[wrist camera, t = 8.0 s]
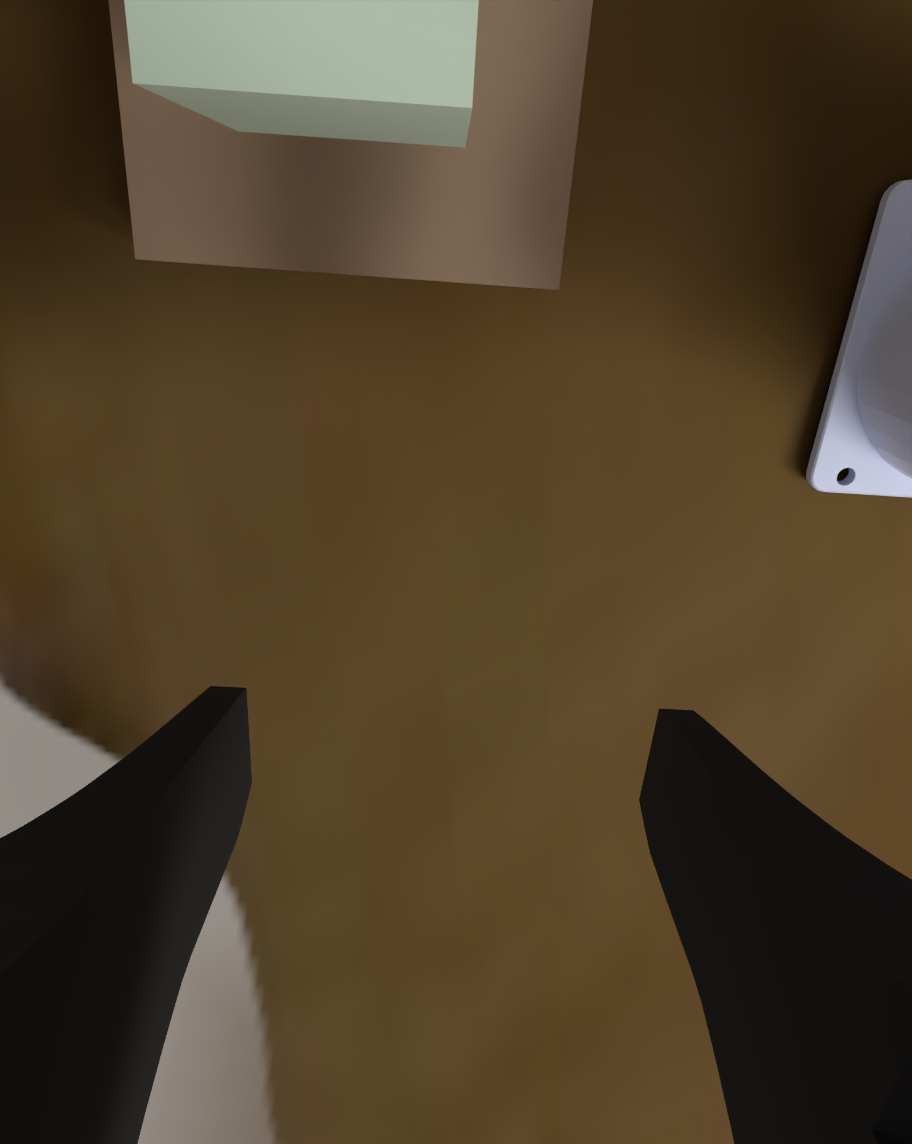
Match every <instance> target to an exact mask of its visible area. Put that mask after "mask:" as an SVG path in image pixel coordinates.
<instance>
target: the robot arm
mask: <svg viewBox="0 0 912 1144" xmlns="http://www.w3.org/2000/svg"><path fill="white" fill-rule="evenodd" d="M844 468H849V473H848V475H847V477H846V478H845V479H843V480H842V481H837V475H838V473H839V472H840V471H841V470H843V469H844ZM806 479H807V481H808V483H809V484H810V485H811V486H812V487H814V488H815V489H816V490H819V491H822V492H834V493H850V494H866V495H881V496H897V497H912V180H904V181H898V182H896V183H894V184H893V185H891V186H890V187H889V188H888V189H887V190H886V191H885V192H884V194H883V197H882V199H881V201H880V204H879V208H878V212H877V215H876V219H875V223H874V226H873V230H872V234H871V237H870V241H869V245H868V248H867V252H866V256H865V259H864V263H863V266H862V270H861V274H860V277H859V281H858V285H857V288H856V292H855V296H854V299H853V303H852V307H851V310H850V314H849V318H848V321H847V325H846V328H845V332H844V336H843V339H842V343H841V347H840V350H839V354H838V358H837V361H836V365H835V369H834V372H833V376H832V380H831V383H830V387H829V390H828V394H827V398H826V401H825V405H824V409H823V412H822V416H821V420H820V423H819V427H818V431H817V434H816V438H815V441H814V445H813V449H812V452H811V456H810V460H809V463H808V467H807V471H806ZM251 784H252V777H251V760H250V743H249V726H248V709H247V692H246V688H237V687H217V686H210V687H209V688H208V689H207V690H205V691H204V692H203V693H202V694H201V695H199V696H198V697H197V698H196V699H195V700H193V701H192V702H191V703H190V704H189V705H187V706H186V707H185V708H184V709H183V710H182V711H180V712H179V713H178V714H177V715H176V716H175V717H173V718H172V719H171V720H170V721H169V722H168V723H166V724H165V725H164V726H163V727H162V728H160V729H159V730H158V731H157V732H156V733H154V734H153V735H152V736H151V737H150V738H148V739H147V740H146V741H145V742H143V743H142V744H141V745H140V746H139V747H137V748H136V749H135V750H134V751H132V752H131V753H130V754H129V755H127V756H126V757H125V758H123V759H122V760H121V761H119V762H118V763H117V764H115V765H114V766H112V767H111V768H110V769H108V770H107V771H106V772H104V773H103V774H102V775H100V776H99V777H98V778H96V779H95V780H94V781H92V782H91V783H89V784H88V785H87V786H85V787H84V788H82V789H81V790H79V791H78V792H77V793H75V794H74V795H72V796H71V797H69V798H68V799H66V800H64V801H63V802H61V803H60V804H58V805H57V806H55V807H53V808H52V809H50V810H49V811H47V812H45V813H44V814H42V815H40V816H39V817H37V818H35V819H34V820H32V821H31V822H29V823H27V824H25V825H24V826H22V827H20V828H19V829H17V830H15V831H13V832H11V833H9V834H7V835H6V836H4V837H2V838H0V1144H137V1143H138V1139H139V1135H140V1131H141V1127H142V1123H143V1119H144V1115H145V1112H146V1108H147V1104H148V1100H149V1096H150V1093H151V1090H152V1086H153V1082H154V1078H155V1074H156V1071H157V1067H158V1064H159V1060H160V1056H161V1053H162V1049H163V1045H164V1042H165V1038H166V1035H167V1031H168V1027H169V1024H170V1021H171V1017H172V1013H173V1010H174V1007H175V1003H176V1000H177V996H178V993H179V990H180V986H181V982H182V980H183V977H184V974H185V971H186V968H187V966H188V963H189V960H190V957H191V954H192V952H193V949H194V947H195V944H196V942H197V939H198V936H199V934H200V932H201V929H202V927H203V924H204V921H205V919H206V916H207V914H208V911H209V909H210V906H211V904H212V901H213V899H214V896H215V894H216V891H217V889H218V886H219V884H220V881H221V879H222V876H223V874H224V871H225V869H226V866H227V863H228V861H229V858H230V856H231V853H232V851H233V848H234V845H235V843H236V840H237V838H238V835H239V831H240V827H241V823H242V820H243V816H244V812H245V808H246V804H247V800H248V796H249V792H250V788H251ZM639 801H640V806H641V811H642V817H643V822H644V827H645V832H646V836H647V840H648V845H649V849H650V854H651V857H652V860H653V863H654V866H655V868H656V871H657V874H658V877H659V880H660V883H661V886H662V889H663V891H664V894H665V897H666V900H667V903H668V906H669V908H670V911H671V914H672V917H673V920H674V922H675V925H676V928H677V931H678V934H679V936H680V939H681V942H682V945H683V948H684V950H685V953H686V956H687V959H688V962H689V964H690V967H691V970H692V973H693V976H694V979H695V983H696V986H697V989H698V992H699V995H700V999H701V1002H702V1006H703V1010H704V1014H705V1018H706V1022H707V1026H708V1030H709V1034H710V1038H711V1042H712V1047H713V1051H714V1055H715V1059H716V1063H717V1067H718V1072H719V1076H720V1081H721V1085H722V1089H723V1094H724V1098H725V1103H726V1107H727V1112H728V1116H729V1121H730V1125H731V1129H732V1134H733V1139H734V1144H912V880H911V879H910V878H908V877H906V876H905V875H903V874H902V873H900V872H898V871H897V870H895V869H893V868H892V867H890V866H889V865H887V864H886V863H884V862H883V861H881V860H880V859H878V858H877V857H875V856H874V855H872V854H871V853H869V852H868V851H866V850H865V849H863V848H862V847H860V846H859V845H857V844H856V843H854V842H853V841H851V840H850V839H848V838H847V837H846V836H844V835H843V834H841V833H840V832H839V831H837V830H836V829H834V828H833V827H832V826H830V825H829V824H828V823H826V822H825V821H824V820H823V819H821V818H820V817H819V816H817V815H816V814H815V813H813V812H812V811H811V810H810V809H808V808H807V807H806V806H804V805H803V804H802V803H801V802H799V801H798V800H797V799H796V798H794V797H793V796H792V795H791V794H789V793H788V792H787V791H786V790H785V789H783V788H782V787H781V786H780V785H779V784H777V783H776V782H775V781H774V780H773V779H771V778H770V777H769V776H768V775H767V774H766V773H764V772H763V771H762V770H761V769H760V768H759V767H758V766H756V765H755V764H754V763H753V762H752V761H751V760H750V759H748V758H747V757H746V756H745V755H744V754H743V753H742V752H741V751H739V750H738V749H737V748H736V747H735V746H734V745H733V744H732V743H731V742H729V741H728V740H727V739H726V738H725V737H724V736H723V735H722V734H720V733H719V732H718V731H717V730H716V729H715V728H714V727H713V726H711V725H710V724H709V723H708V722H707V721H706V720H705V719H703V718H702V717H701V716H700V715H698V714H697V713H696V712H695V711H693V710H674V709H659V712H658V716H657V721H656V725H655V730H654V735H653V739H652V744H651V748H650V753H649V758H648V762H647V767H646V771H645V776H644V781H643V785H642V790H641V794H640V799H639Z"/></svg>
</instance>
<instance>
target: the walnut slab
mask: <svg viewBox="0 0 912 1144" xmlns="http://www.w3.org/2000/svg"><path fill="white" fill-rule="evenodd" d="M108 1H109V11H110V20H111V30H112V40H113V49H114V59H115V69H116V78H117V88H118V98H119V107H120V117H121V127H122V136H123V146H124V156H125V165H126V175H127V185H128V194H129V204H130V214H131V223H132V233H133V243H134V252H135V259H139V260H153V261H167V262H181V263H194V264H208V265H222V266H236V267H250V268H264V269H277V270H291V271H305V272H319V273H333V274H346V275H360V276H374V277H388V278H402V279H416V280H429V281H443V282H457V283H471V284H485V285H499V286H512V287H526V288H540V289H554V290H559V286H560V277H561V269H562V260H563V252H564V243H565V235H566V226H567V218H568V209H569V201H570V192H571V184H572V176H573V167H574V159H575V150H576V142H577V133H578V125H579V116H580V108H581V99H582V91H583V82H584V74H585V65H586V57H587V48H588V40H589V31H590V23H591V14H592V6H593V0H479V4H478V21H477V37H476V54H475V70H474V87H473V103H472V112H471V118H470V124H469V129H468V135H467V141H466V146H465V148H464V147H450V146H436V145H422V144H408V143H394V142H380V141H365V140H351V139H337V138H323V137H309V136H295V135H281V134H267V133H253V132H239V131H236V130H234V129H232V128H230V127H228V126H225V125H223V124H221V123H219V122H217V121H214V120H212V119H210V118H208V117H206V116H203V115H201V114H199V113H197V112H195V111H192V110H190V109H188V108H186V107H184V106H181V105H179V104H177V103H175V102H173V101H170V100H168V99H166V98H164V97H162V96H159V95H157V94H155V93H153V92H151V91H148V90H146V89H144V88H142V87H140V86H137V85H135V84H133V82H132V72H131V62H130V52H129V43H128V33H127V23H126V13H125V3H124V0H108Z"/></svg>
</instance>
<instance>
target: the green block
mask: <svg viewBox="0 0 912 1144" xmlns="http://www.w3.org/2000/svg"><path fill="white" fill-rule="evenodd" d="M124 3H125V13H126V23H127V33H128V43H129V52H130V62H131V72H132V82H133V84H135V85H137V86H140V87H142V88H144V89H146V90H148V91H151V92H153V93H155V94H157V95H159V96H162V97H164V98H166V99H168V100H170V101H173V102H175V103H177V104H179V105H181V106H184V107H186V108H188V109H190V110H192V111H195V112H197V113H199V114H201V115H203V116H206V117H208V118H210V119H212V120H214V121H217V122H219V123H221V124H223V125H225V126H228V127H230V128H232V129H234V130H236V131H239V132H253V133H267V134H281V135H295V136H309V137H323V138H337V139H351V140H365V141H380V142H394V143H408V144H422V145H436V146H450V147H464V148H465V146H466V141H467V135H468V129H469V124H470V118H471V112H472V103H473V87H474V70H475V54H476V37H477V21H478V4H479V0H124Z"/></svg>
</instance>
